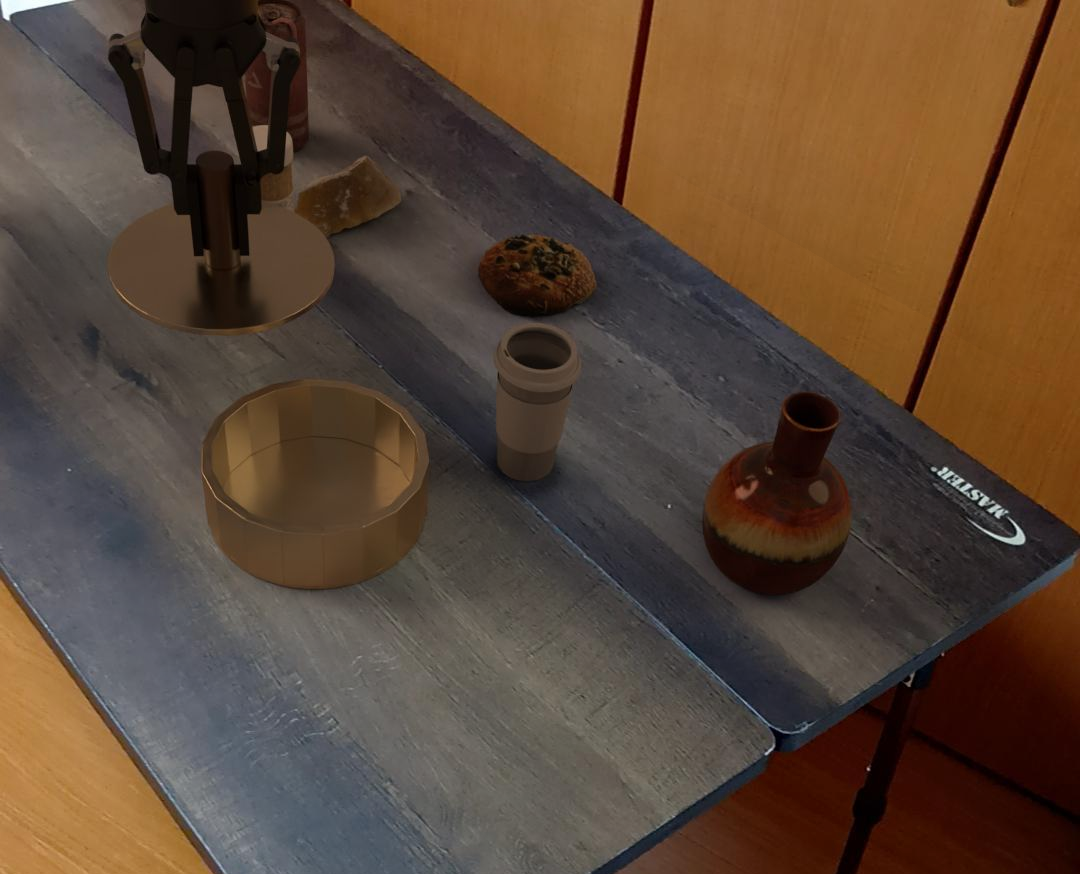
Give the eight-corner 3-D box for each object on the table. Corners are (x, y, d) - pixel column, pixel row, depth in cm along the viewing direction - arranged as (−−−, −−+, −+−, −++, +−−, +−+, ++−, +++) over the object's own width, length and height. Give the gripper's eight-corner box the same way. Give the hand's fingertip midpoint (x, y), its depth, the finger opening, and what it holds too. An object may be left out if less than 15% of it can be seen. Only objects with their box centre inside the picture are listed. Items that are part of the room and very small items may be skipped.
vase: (688, 598, 100) (730, 450, 89) (696, 496, 107) (736, 348, 96) (833, 623, 100) (893, 477, 88) (831, 519, 107) (886, 373, 96)
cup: (472, 440, 109) (481, 325, 101) (547, 426, 111) (562, 312, 103) (501, 499, 105) (513, 384, 96) (578, 483, 107) (597, 369, 98)
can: (284, 164, 134) (278, 32, 124) (237, 141, 136) (227, 10, 126) (323, 140, 138) (320, 11, 128) (276, 119, 140) (269, -11, 130)
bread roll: (476, 314, 120) (482, 264, 117) (475, 257, 129) (481, 209, 126) (596, 325, 122) (605, 277, 118) (587, 268, 130) (596, 221, 127)
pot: (208, 598, 95) (201, 542, 91) (207, 438, 106) (201, 382, 102) (437, 583, 98) (440, 528, 94) (413, 429, 110) (415, 374, 105)
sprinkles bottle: (255, 248, 124) (245, 119, 114) (303, 255, 124) (297, 127, 114) (242, 277, 121) (231, 147, 111) (291, 284, 121) (285, 154, 111)
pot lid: (104, 345, 99) (84, 230, 92) (114, 209, 111) (97, 97, 103) (342, 339, 102) (342, 228, 95) (327, 208, 114) (326, 100, 107)
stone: (398, 214, 135) (294, 280, 126) (358, 164, 134) (251, 227, 126) (428, 178, 129) (321, 245, 120) (386, 125, 128) (276, 188, 120)
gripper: (67, -28, 83) (115, 276, 101) (321, -21, 87) (325, 273, 104) (75, -80, 88) (119, 219, 106) (315, -71, 91) (320, 217, 109)
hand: (221, 245), depth 105 cm, fingers closed on pot lid, 3 cm apart
